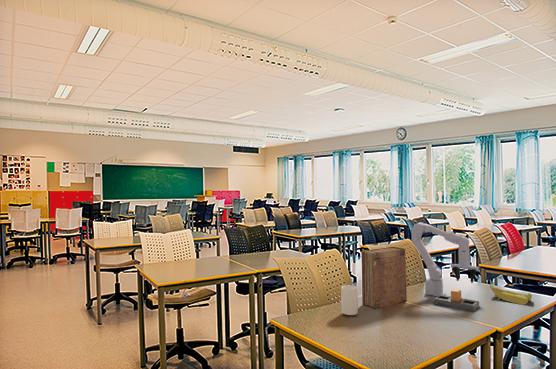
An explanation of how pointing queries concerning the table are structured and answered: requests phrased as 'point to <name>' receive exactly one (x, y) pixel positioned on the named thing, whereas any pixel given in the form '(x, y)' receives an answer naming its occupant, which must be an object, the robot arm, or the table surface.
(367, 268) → the book
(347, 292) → the cup
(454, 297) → the peg
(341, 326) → the table surface
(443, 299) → the grey compartment tray
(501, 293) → the banana
